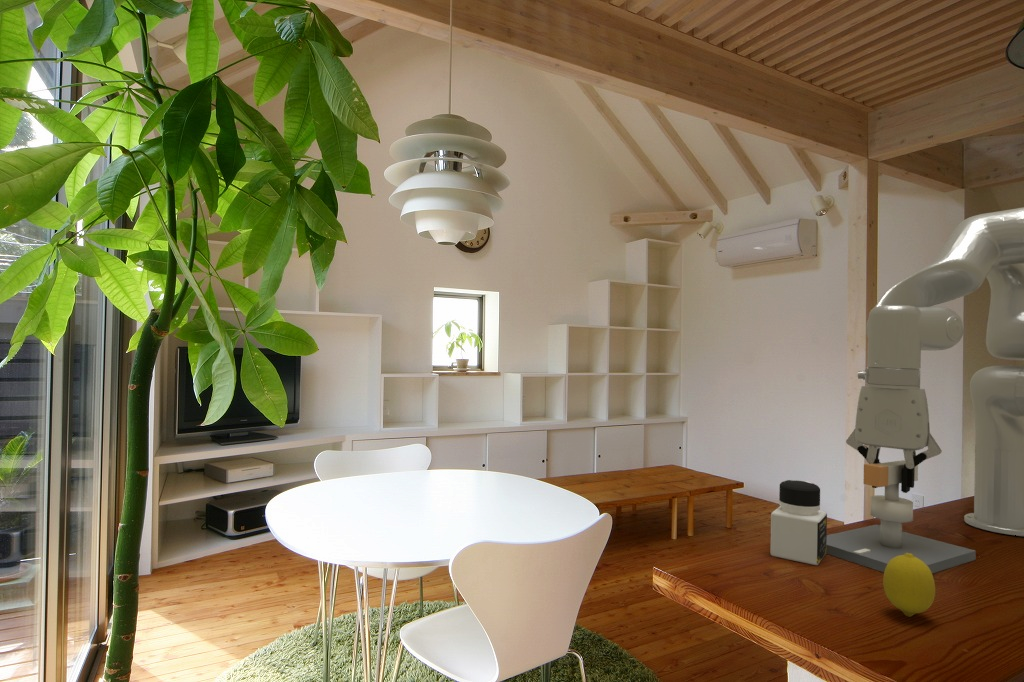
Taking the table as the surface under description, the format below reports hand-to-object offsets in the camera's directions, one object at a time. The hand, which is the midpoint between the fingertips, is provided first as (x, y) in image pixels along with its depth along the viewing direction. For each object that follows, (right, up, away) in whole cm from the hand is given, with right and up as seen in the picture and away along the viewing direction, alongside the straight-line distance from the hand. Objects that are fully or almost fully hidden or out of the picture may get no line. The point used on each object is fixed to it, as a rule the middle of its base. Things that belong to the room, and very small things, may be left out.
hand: (891, 487), depth 100 cm
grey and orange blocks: (0, -5, 0) cm, 5 cm away
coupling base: (0, -11, 0) cm, 11 cm away
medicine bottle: (-16, -11, -2) cm, 20 cm away
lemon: (-13, -11, -24) cm, 29 cm away
